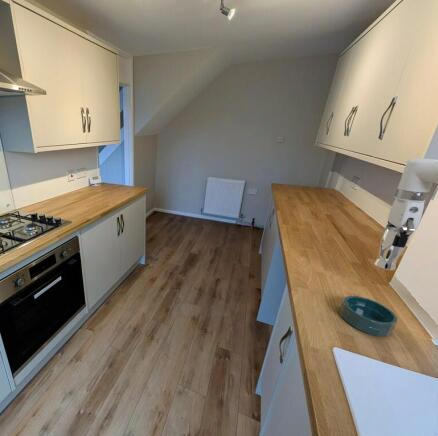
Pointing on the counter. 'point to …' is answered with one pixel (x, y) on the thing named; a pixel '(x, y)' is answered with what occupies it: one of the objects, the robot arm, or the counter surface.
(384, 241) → the beer glass
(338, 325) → the counter surface
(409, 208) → the robot arm
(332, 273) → the counter surface
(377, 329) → the bowl
